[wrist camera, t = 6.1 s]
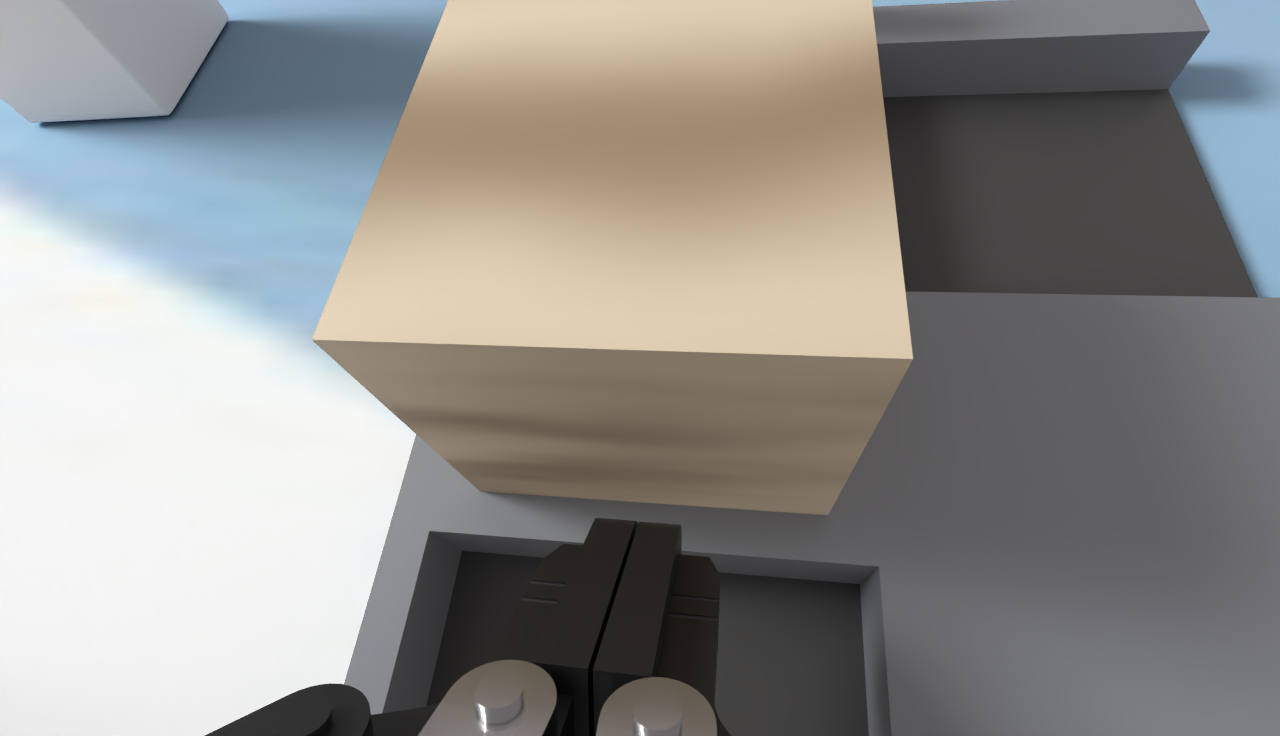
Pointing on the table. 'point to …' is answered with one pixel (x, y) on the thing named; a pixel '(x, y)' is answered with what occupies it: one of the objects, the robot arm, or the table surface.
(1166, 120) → the trap deck
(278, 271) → the table surface
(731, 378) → the beech block
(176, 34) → the milk carton
